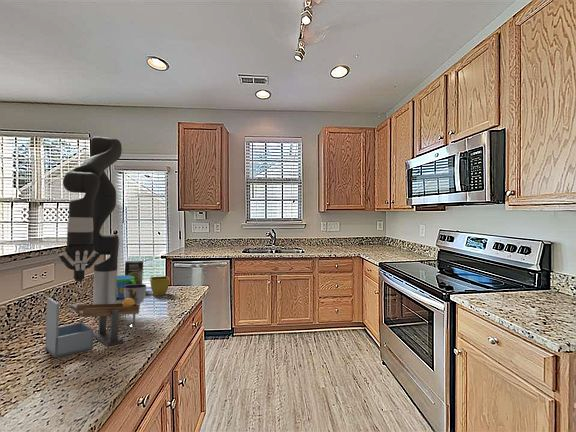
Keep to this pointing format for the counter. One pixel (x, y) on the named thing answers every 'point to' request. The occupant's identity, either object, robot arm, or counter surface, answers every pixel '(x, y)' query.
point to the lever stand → (106, 335)
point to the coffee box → (134, 270)
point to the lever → (103, 309)
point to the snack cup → (123, 284)
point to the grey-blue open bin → (65, 334)
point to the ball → (128, 302)
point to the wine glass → (135, 299)
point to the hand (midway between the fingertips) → (78, 281)
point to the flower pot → (159, 285)
